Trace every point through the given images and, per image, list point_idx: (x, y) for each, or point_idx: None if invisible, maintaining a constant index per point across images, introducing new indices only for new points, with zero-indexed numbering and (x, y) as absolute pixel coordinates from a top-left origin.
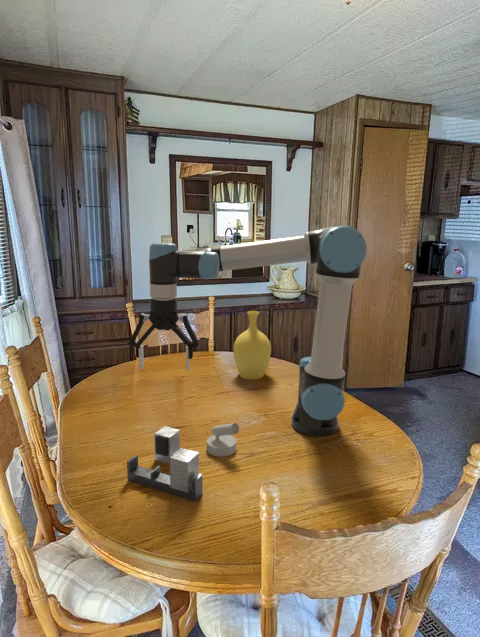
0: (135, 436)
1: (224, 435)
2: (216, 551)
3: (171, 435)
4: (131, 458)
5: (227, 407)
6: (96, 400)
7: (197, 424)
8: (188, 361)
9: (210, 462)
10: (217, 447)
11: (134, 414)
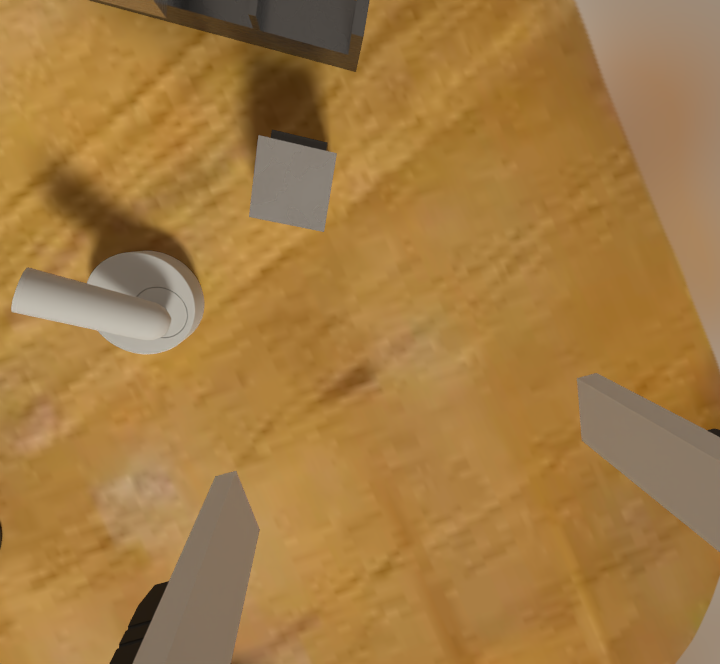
0: (452, 294)
1: (148, 344)
2: None
3: (259, 156)
4: (364, 2)
5: None
6: None
7: (294, 421)
8: (194, 546)
9: (151, 205)
10: (133, 256)
11: (509, 420)
